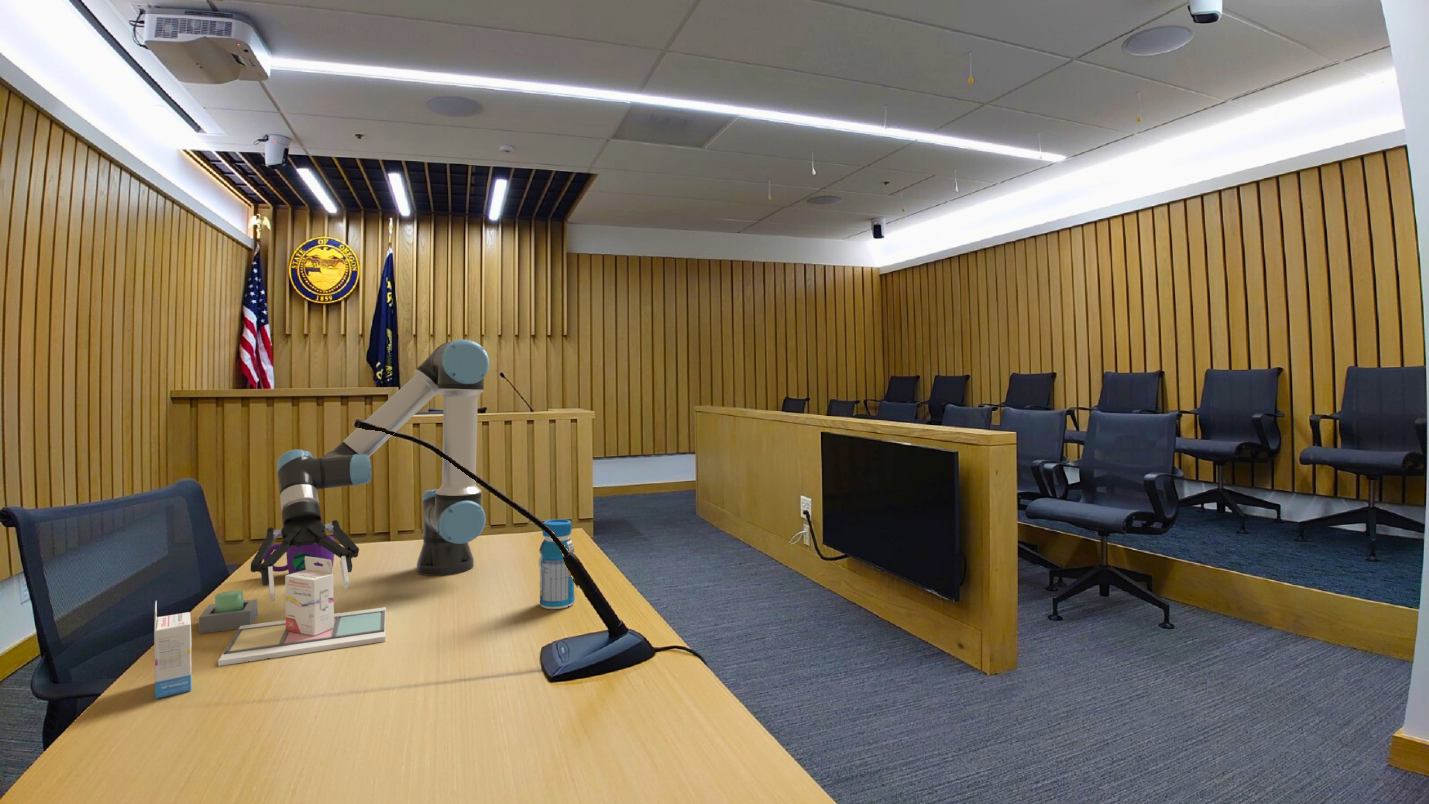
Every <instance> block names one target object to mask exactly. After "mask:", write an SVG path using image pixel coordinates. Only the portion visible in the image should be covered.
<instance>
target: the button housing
mask: <svg viewBox="0 0 1429 804" xmlns="http://www.w3.org/2000/svg"><path fill="white" fill-rule="evenodd" d="M256 616H257V617H258V616H259V600H258V598H255V599H248V600H247V599H246V600H243V610H239V611H231V612H223V613H215V603H213V604H212V603H211V604H209V605H208V606H207V607H206V608H205V609H204V611H203V612H202V613H201V614H200V615H199V616H198V634H200V635H201V634H207V633H215V632H224V631H231V630H230V629H232V630H238V629H239V627H240V626H243V625H251V624H254V622H255V620H256V618H257V617H256ZM253 621H254V622H253Z"/></svg>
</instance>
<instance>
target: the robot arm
mask: <svg viewBox="0 0 1429 804" xmlns="http://www.w3.org/2000/svg"><path fill="white" fill-rule="evenodd" d="M489 370H490V358H489V356H488V353H487V351H486V350H485V348H484V347H483V346H482V345H480V343H477V342H476V341H473V340H469V339H464V338H463V339H455V340H453V341H447V342H444V343H442V344H440V345H439V346H437V347H436V348H435V349H434V350H433V351H432V352H431V353H430V355H429V356H427V358H426V359H425V360H424V361H423V362H422V363H421V364H420V365H419V366H418V367H417V368H416V369H415V370H414V376H413V377H411V378H410V379H409V380H408V381H407V382H406V383H405V384H404V385H403V386H401V387H400V389H399V390H397V391H396V392H395V393H394V394H393V395H392V396H391V397H390V398H388V399H387V400H386V401H385V402H384V403H383V404H382V405H381V406H380V407H378V409H376V411H374V412H373V413H372V414H371V415H370V416H369V417H368V418H367V419H365V421H364V422H367V423H370V424H373V425H376V426H379V427H382V428H386V429H388V430H389V431H394V432H395V433H397V432H398V431H399V430H400V429H401V428H402V427H403V426H404V425H405V424H406V423H407V422H408V421H409V420H411V418H413V417H414V416H415V415H416V414H417V413H418V412H419V411H420V410H421V409H423V408H424V407H425V406H426V405H427V404H428V403H429V402H430V401H431V400H432V399H433V398H434V397H435V396H437V395H442V396H443V411H442V412H443V414H442V415H443V416H442V452H443V453H444V454H446V455H448V456H449V457H451V458H452V459H453V460H455V461H456V462H457V463H459V464H460V465H461V466H463V467H465V468H466V469H468V470H469V471H470V472H472V473H474V474H475V475H476V476H477V443H478V440H477V439H478V438H477V437H478V406H479V405H478V402H479V400H478V399H479V396H480V395H481V394H482V393H483V392H484V391H485V378H486V376H487V374H488V372H489ZM392 436H393V435H390V434H386V433H385V432H382V431H375V430H365V429H362V428H358V427H357V428H356V429H354V431H352V432H351V433H350V434H349V435H348V436H346V438H345V439H343V440H342V442H340V444H338V445H337V446H336V447H335V448H334V449H333V450H331V451H328V452H327V453H326V454H325V455H324V456H323V457H315V458H314V457H313V454H312V453H311V452H310V451H307V450H302V449H299V448H298V449H292V450H288V451H285V452H284V453H282V454H281V455H280V456H279V457H278V459H277V462H276V463H277V466H276V467H277V472H276V473H277V482H278V489H279V499H280V509H281V522H282V528H281V529H274V528H273V527H268V528H267V529H266V536H265V538H264V540H263V542H262V544H261V545H260V547H259V549H258V550H257V552H256V553H255V555H254V558H253V559H252V561H251V562H250V572H251V573H256V572H259V573H260V576H261V584H262V587H265V586H268V594H269V596H268V597H269V601H270V602H272V601H275V593H276V592H275V583H274V581H275V580H274V579H275V578H274V571H273V567H272V566H273V565H274V566H275V564H277V562H278V561H279V560H280V559H281V558H282V557H283V556H284V555H286V551H288V550H289V549H290V548H291V547H292V546H293V545H294V546H296V547H300V546H303V545H313V544H314V543H316V544H318V545H319V546H323V547H324V548H326V549H327V550H329V551H330V552H332V553H333V554H334V556H336V557H338V558H340V561H339V564H340V570H341V577H342V583H343V588H344V589H347V588H349V584H350V577H349V573H352V570H353V562H352V559H353V558H357V557H358V556H359V552H360V548H359V547H358V545H356V544H355V542H354V541H353V540H352V539H351V538H350V536H348V535H347V533H345V531H344V530H343V529H342V528H341V526H340V524H339V521H338V520H336V519H333V520H332V521H331V523H326V524H325V523H324V522H323V520H322V512H321V507H320V499H319V498H320V497H319V494H318V493H319V492H318V490H323V489H331V488H341V487H342V488H344V487H351V486H353V487H356V486H359V485H366V484H369V483H370V482H371V480H372V463H371V462H372V461H371V458H370V457H371V456H372V455H373V454H374V453H375V452H376V451H378V449H379V448H381V446H383V445H384V443H386V442H387V441H388V440H389V439H390V438H392ZM442 452H441V453H442ZM441 457H442V456H441ZM441 460H442V461H441V462H442V463H441V467H442V468H441V486H440V487H439V488H438V489H437V488H436V489H428V490H426V491H424V492H423V495H422V501H421V503H422V532H423V533H422V535H423V537H422V538H423V539H422V540H423V541H422V542H423V544H422V547H421V550H420V552H419V556H418V559H417V562H416V573H418V574H421V575H424V576H446V575H447V576H448V575H453V574H459V573H463V572H466V571H469V570H470V569H472V568H474V564H475V563H474V556H473V553H472V551H471V550H472V549H471V547H470V545H469V543H470V542H472V541H474V540H475V539H477V538H478V536H479V535H480V534H482V532H483V530H484V528H485V526H486V522H487V521H486V520H487V519H486V512H485V510H484V509H483V507H482V489H480V488H479V486H477V482H476V481H477V480H476V481H475V480H474V479H472V478H470V477H469V476H468V475H466V474H465V473H464V472H462V471H461V470H460V469H457V467H455V466H454V465H453V464H452V463H450V462H449V461H448V460H446V459H444V458H443V457H442V459H441ZM325 531H328V532H329V534H332V535H333V538H334V539H336V540H337V541H338V542H337V541H335V540H334V541H333V540H332V539H330V538H329V537H327V535H328V534H326V533H325ZM278 537H281V538H282V539H283V540H282V542H281V543H279V544H280V545H279V546H278V547H277V548H276V549H275V550H274V551H273V552H272V553H271V555H270V556H269V557H268V558H267V559H266V560H265V561H264V557H265V556H266V554H267V552H268V550H269V549H270V547H271V546H272V545H273V541H276V540H277V539H278Z"/></svg>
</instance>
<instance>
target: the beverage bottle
mask: <svg viewBox="0 0 1429 804" xmlns="http://www.w3.org/2000/svg"><path fill="white" fill-rule="evenodd" d="M543 523H544V524H545V525H546V526H548V527H549V528H550V529H551V530H552V531H553V532H554V533H555V535H556V536H557V538H559V540H560V541H561V542H562V544H563V545H565V548H567V549H568V551H571V553H573V554H574V552H575V546H574V545H575V544H574V543H573V541H572V540H571V538H570V536H571V534H572V521H571V520H569V519H565V518H564V519H563V518H562V519H561V518H560V519H558V518H555V519H548V520H545V521H543V522H542V524H543ZM542 536H543V537H544V539H543V541H542V542H541V545H540V546H539V550H538V552H539V554H540V557H539V560H538V566H539V605H540V607H542V608H544V609H548V610H562V609H566V608H569V607H571V606H572V605H573V604H575V601H576V600H575V581H574V582H573V580H572V577H571V574H570V572H569V571H568V568H567V567H566V565H565V562H564V559H563V555H562V551H560V549H559V547H558V546H557V545H556V543H555V542H553V539H552V538H551V536H550V535H549V534H548V533H547V532H545V530H542ZM568 606H569V607H568Z"/></svg>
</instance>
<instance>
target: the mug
mask: <svg viewBox="0 0 1429 804" xmlns="http://www.w3.org/2000/svg"><path fill="white" fill-rule="evenodd" d="M326 535H327V537H329V538H330V539H332V540H333V541H335V537H334V535H333V536H332V535H331V534H330V535H328V534H326ZM280 544H281V543H275V544H272V545H271V547H270V549H269V550H268V552H267V554H266V556H265V557H264V559H263V562H264V561H265V560H266V559H267V558H268V557H269V556H270V555H271V554H272V553H273V552H274V551H275V550H276V548H277V547H278V546H279V545H280ZM285 555H286V565H283V566H275V564H274V565H273V566H272V567H273V572H277V573H279V572H280V573H281V572H286V571H288V575H289V574H292V573H296V572H299V571H303V570H306V567H305V556H308V557H315V558H322V559H328V560H331V561H332V569H333V568H334V567H333V566H334V561H335V554H333V553H332V552H330V551H329V550H327V549H326V548H324V547H323V546H319V545H318V544H316V543H314V544H313V545H303V546H300V547H296V546H294V545H293V546H292V547H291V548H290V549H289V550H288V551H286V552H285ZM314 565H316V566H322V567H323V564H320V563H319V562H317V563H314Z"/></svg>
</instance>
